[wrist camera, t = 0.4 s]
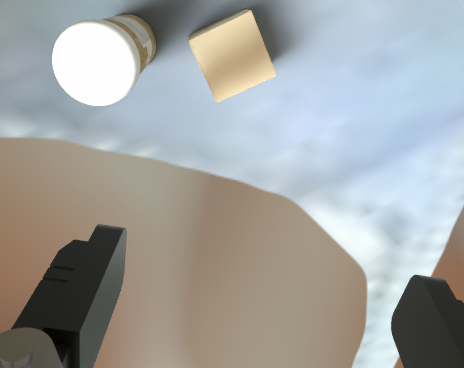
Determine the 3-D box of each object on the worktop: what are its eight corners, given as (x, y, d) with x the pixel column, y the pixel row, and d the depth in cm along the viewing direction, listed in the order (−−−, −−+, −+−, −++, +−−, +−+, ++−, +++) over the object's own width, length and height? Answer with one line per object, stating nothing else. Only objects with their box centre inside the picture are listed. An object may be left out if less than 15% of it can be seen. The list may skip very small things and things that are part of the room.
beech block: (189, 35, 36) (187, 40, 31) (244, 8, 35) (251, 10, 31) (214, 90, 38) (216, 103, 33) (267, 65, 37) (276, 75, 33)
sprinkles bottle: (131, 82, 37) (98, 124, 25) (89, 41, 35) (31, 64, 23) (168, 43, 36) (154, 67, 24) (127, 0, 34) (88, 1, 22)
